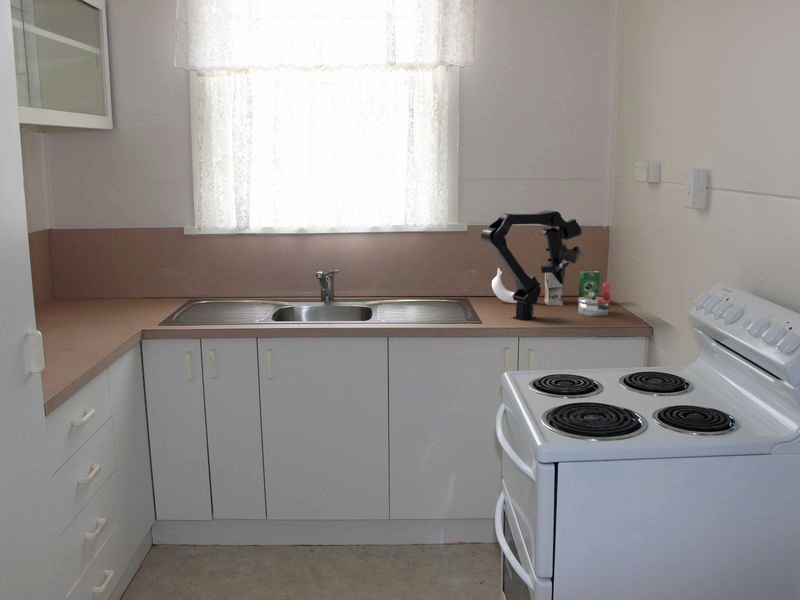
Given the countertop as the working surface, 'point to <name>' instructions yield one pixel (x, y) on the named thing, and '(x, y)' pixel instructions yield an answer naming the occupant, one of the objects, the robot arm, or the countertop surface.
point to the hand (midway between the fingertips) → (561, 283)
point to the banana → (502, 289)
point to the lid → (598, 300)
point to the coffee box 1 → (553, 290)
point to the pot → (593, 309)
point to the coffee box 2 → (589, 284)
